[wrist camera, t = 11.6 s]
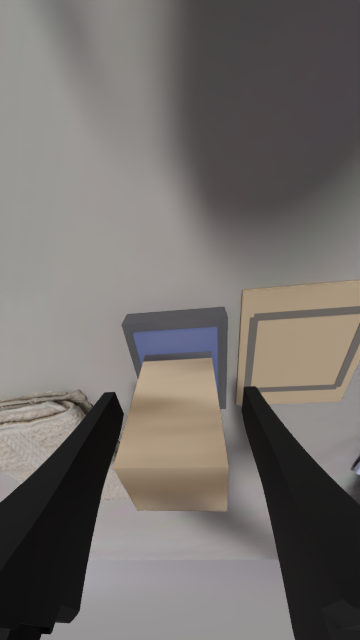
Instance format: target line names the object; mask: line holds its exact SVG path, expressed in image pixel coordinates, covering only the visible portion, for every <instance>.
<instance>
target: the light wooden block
mask: <svg viewBox="0 0 360 640" xmlns="http://www.w3.org/2000/svg"><path fill="white" fill-rule="evenodd" d="M113 469H114V471H115V472H116V474H117V476H118V478H119V479H120V481H121V483H122V484H123V486H124V488H125V490H126V491H127V493H128V495H129V497H130V498H131V500H132V502H133V504H134V505H135V507H136V509H137V510H149V511H227V497H228V472H229V466H228V459H227V453H226V446H225V440H224V433H223V427H222V420H221V414H220V407H219V401H218V394H217V387H216V381H215V374H214V368H213V361H212V355H211V351H204V352H187V353H170V354H153V355H145V357H144V361H143V364H142V368H141V371H140V375H139V378H138V382H137V385H136V389H135V392H134V396H133V400H132V403H131V407H130V410H129V414H128V417H127V421H126V424H125V428H124V431H123V435H122V438H121V442H120V445H119V449H118V452H117V456H116V459H115V463H114V467H113Z"/></svg>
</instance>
